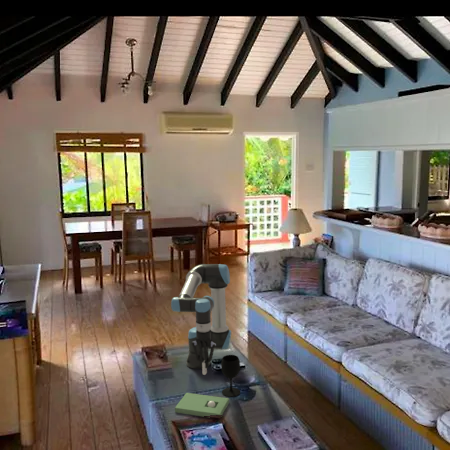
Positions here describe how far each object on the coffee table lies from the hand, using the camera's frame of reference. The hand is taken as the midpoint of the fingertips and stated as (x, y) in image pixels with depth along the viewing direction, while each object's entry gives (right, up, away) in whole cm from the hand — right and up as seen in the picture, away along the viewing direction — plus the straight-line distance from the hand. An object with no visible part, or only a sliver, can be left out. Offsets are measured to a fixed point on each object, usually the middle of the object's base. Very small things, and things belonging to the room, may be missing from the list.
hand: (204, 373), depth 244 cm
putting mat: (-1, -18, +2) cm, 18 cm away
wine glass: (+14, -16, +17) cm, 27 cm away
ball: (+3, -16, 0) cm, 17 cm away
